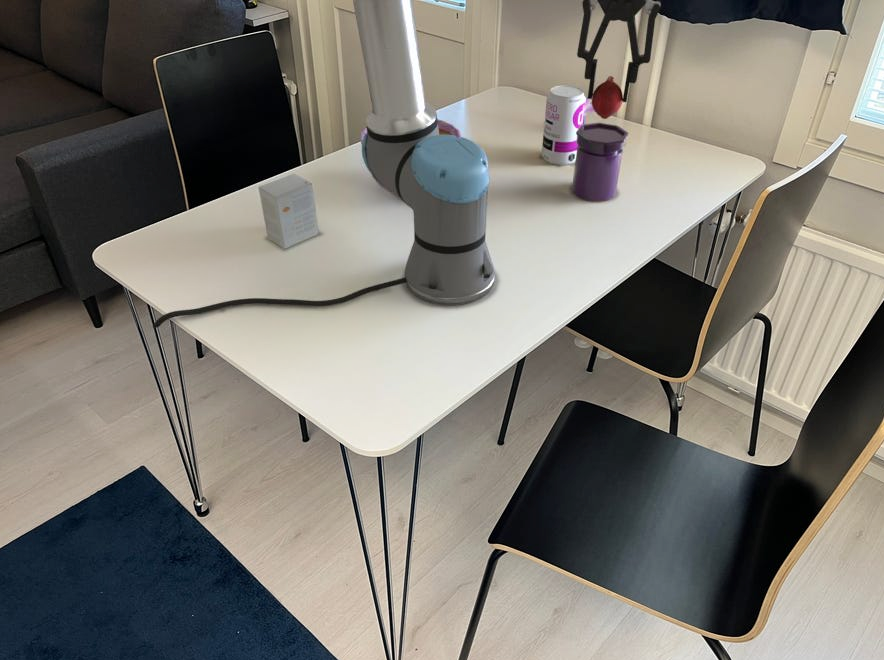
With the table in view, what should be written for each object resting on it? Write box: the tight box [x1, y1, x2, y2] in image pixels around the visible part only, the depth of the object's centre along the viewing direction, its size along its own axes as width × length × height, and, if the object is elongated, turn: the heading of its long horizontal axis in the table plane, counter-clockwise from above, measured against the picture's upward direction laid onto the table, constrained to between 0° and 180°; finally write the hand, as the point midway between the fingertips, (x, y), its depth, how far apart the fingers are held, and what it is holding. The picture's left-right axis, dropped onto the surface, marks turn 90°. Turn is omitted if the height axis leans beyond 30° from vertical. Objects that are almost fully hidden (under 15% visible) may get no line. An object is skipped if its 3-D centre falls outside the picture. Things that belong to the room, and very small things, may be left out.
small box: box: [258, 173, 320, 250], centre depth 130 cm, size 8×6×10 cm
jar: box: [571, 122, 629, 202], centre depth 145 cm, size 10×10×13 cm
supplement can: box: [541, 84, 586, 166], centre depth 156 cm, size 8×8×15 cm
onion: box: [591, 75, 624, 120], centre depth 136 cm, size 6×6×8 cm
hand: (607, 97), depth 136 cm, fingers closed on onion, 6 cm apart
